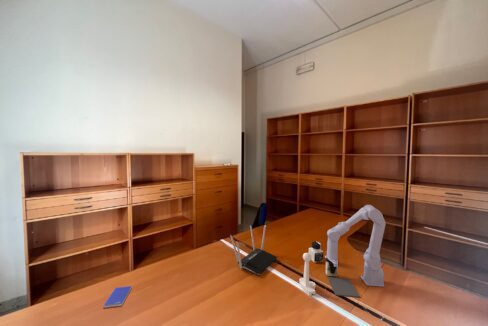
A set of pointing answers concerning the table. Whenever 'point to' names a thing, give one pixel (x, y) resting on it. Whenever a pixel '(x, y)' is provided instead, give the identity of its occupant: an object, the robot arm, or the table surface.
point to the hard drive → (117, 297)
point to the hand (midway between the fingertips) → (331, 271)
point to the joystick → (307, 277)
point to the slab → (329, 270)
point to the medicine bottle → (316, 252)
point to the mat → (343, 287)
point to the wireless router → (255, 257)
